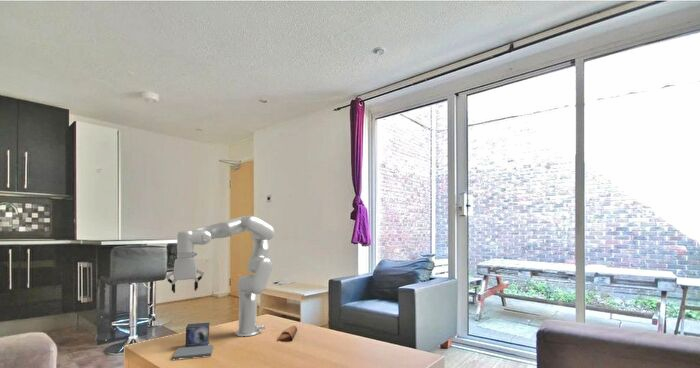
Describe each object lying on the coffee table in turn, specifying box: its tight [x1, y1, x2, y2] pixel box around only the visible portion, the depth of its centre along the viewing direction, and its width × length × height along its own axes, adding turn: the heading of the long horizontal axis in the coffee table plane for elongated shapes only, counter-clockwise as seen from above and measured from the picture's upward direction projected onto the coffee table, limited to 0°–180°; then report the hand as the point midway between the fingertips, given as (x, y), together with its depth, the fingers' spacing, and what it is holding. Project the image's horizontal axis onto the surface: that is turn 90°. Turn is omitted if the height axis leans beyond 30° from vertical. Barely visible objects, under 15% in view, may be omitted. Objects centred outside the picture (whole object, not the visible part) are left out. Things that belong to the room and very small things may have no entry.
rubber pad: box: [172, 344, 214, 360], centre depth 174 cm, size 16×12×2 cm
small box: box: [184, 322, 210, 347], centre depth 186 cm, size 11×6×10 cm, turn 105°
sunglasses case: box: [276, 325, 298, 343], centre depth 200 cm, size 18×7×7 cm
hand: (184, 291), depth 183 cm, fingers open, 9 cm apart
